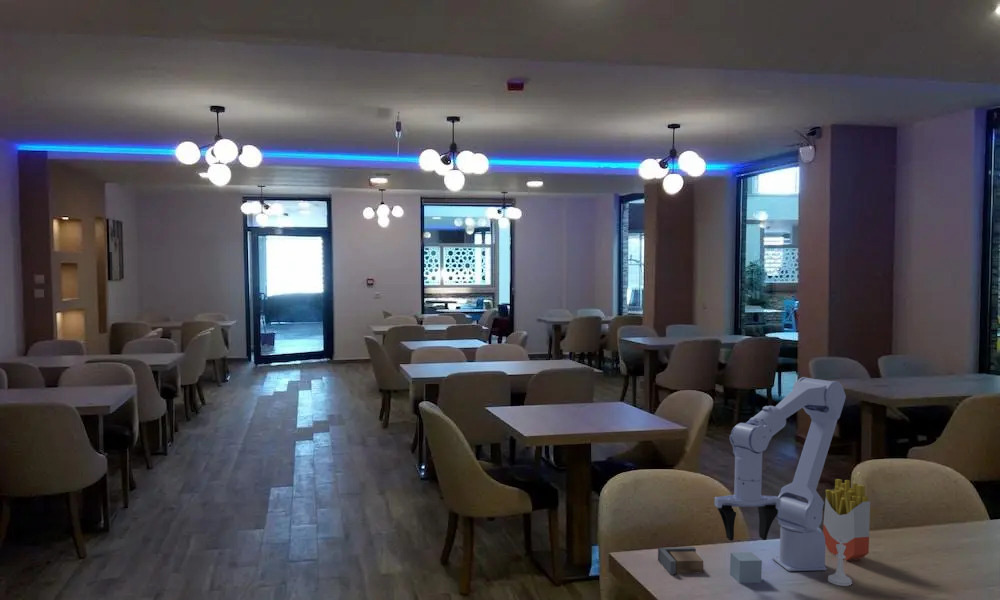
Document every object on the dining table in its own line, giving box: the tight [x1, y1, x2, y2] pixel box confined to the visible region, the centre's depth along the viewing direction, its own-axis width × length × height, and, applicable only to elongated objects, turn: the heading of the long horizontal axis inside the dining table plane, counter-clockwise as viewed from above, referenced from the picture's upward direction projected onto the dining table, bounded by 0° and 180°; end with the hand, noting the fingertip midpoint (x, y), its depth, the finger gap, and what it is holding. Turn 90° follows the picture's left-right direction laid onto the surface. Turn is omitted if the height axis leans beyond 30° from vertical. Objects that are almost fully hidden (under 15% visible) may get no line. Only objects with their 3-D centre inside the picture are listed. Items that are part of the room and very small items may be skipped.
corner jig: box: [657, 546, 697, 576], centre depth 174 cm, size 9×9×3 cm
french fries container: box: [822, 478, 871, 561], centre depth 183 cm, size 5×11×18 cm, turn 15°
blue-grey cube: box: [729, 551, 763, 584], centre depth 168 cm, size 5×5×5 cm
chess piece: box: [827, 537, 853, 587], centre depth 167 cm, size 5×5×10 cm
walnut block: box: [669, 551, 704, 574], centre depth 173 cm, size 6×6×3 cm
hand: (746, 538), depth 167 cm, fingers open, 7 cm apart
